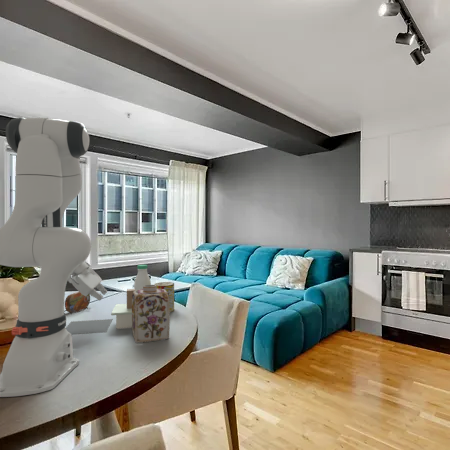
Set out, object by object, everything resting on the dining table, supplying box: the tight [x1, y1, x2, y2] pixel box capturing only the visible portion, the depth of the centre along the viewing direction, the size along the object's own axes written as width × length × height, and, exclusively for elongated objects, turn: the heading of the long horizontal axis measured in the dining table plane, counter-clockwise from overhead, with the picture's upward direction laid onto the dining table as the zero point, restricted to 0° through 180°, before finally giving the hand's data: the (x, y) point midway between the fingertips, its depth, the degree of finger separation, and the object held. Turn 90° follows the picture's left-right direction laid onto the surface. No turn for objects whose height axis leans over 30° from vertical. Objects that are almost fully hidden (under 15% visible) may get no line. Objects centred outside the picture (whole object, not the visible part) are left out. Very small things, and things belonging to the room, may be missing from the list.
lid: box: [110, 288, 135, 316], centre depth 125 cm, size 13×13×8 cm
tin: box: [64, 291, 91, 314], centre depth 147 cm, size 15×3×8 cm, turn 168°
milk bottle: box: [133, 264, 152, 291], centre depth 151 cm, size 8×8×20 cm
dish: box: [115, 314, 132, 330], centre depth 125 cm, size 10×10×6 cm
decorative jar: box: [131, 284, 171, 344], centre depth 113 cm, size 12×12×18 cm
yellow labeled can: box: [153, 281, 175, 313], centre depth 147 cm, size 9×9×12 cm
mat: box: [65, 318, 113, 336], centre depth 122 cm, size 16×16×1 cm
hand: (103, 296), depth 123 cm, fingers open, 8 cm apart
